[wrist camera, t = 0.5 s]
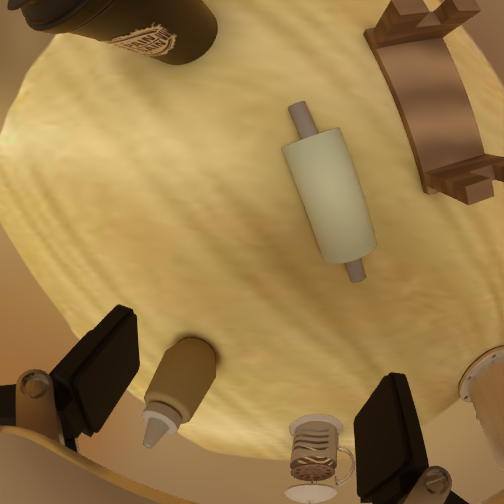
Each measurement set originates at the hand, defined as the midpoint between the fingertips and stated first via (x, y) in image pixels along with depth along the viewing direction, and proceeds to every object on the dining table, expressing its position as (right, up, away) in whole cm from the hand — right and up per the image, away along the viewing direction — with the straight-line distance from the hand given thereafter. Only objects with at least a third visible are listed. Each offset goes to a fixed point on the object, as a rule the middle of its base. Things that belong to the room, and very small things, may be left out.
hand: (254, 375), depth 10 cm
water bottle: (-8, +30, +17) cm, 35 cm away
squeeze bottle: (-8, -11, +33) cm, 35 cm away
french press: (+12, -27, +35) cm, 46 cm away
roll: (+8, +10, +18) cm, 22 cm away
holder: (+20, +21, +15) cm, 32 cm away
